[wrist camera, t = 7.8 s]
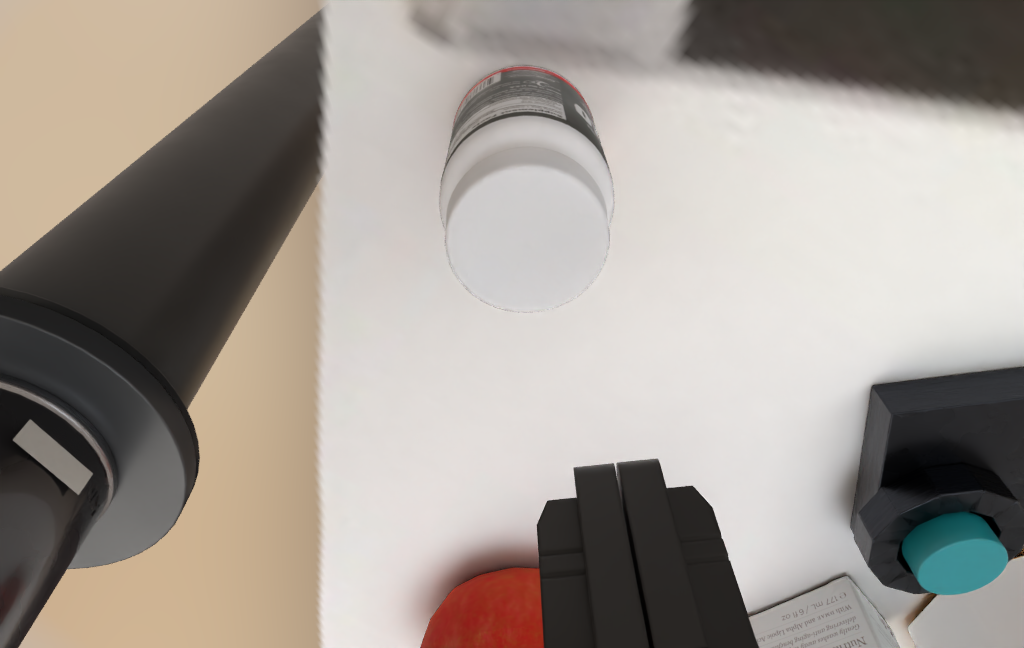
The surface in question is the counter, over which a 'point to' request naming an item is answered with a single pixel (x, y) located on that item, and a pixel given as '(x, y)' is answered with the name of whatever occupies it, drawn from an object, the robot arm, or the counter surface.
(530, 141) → the pill bottle
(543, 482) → the counter surface
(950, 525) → the button
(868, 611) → the cosmetic box
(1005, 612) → the cup
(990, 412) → the black push-button base
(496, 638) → the apple
